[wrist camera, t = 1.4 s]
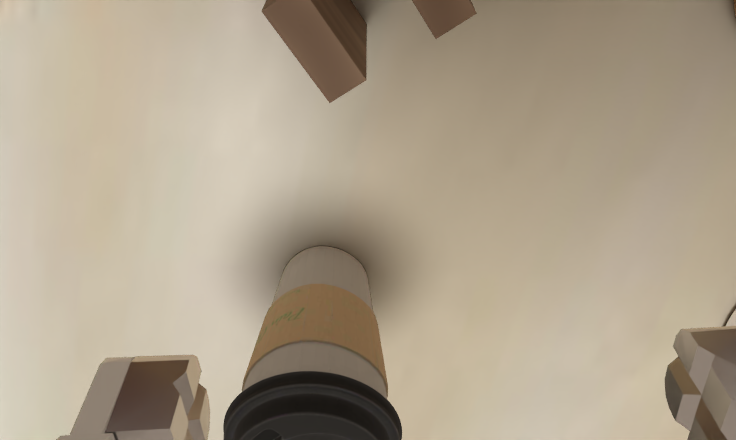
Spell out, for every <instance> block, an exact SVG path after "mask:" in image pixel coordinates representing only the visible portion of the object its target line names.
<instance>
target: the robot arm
mask: <svg viewBox="0 0 736 440" xmlns="http://www.w3.org/2000/svg"><path fill="white" fill-rule="evenodd" d="M673 347H674V349H675V351H676V352H677V354H678V357H677V358H676V359H675V360H674V361H673V362H671V363H670V364H669V365H668V367H667V372H666V376H665V391H666V398H667V402H668V405H669V408H670V410H671V412H672V415H673V417H674V419H675V421H677V422H678V423H679V424H681V425H682V426H684V427H685V428H687V429H688V430H689V431H690V433H689V436H688V440H736V309H735V311H734V312H733V314H732V315H731V317H730V319H729V320H728V322H727V324H726V326H724V327H708V328H691V329H681V330H680V331H679V333H678V334H677V335H676V338H675V342H674V345H673ZM200 375H201V368H200V364H199V361H198V358H197V356H194V355H169V356H136V357H119V358H106V359H105V360H104V361H103V362H102V363H101V364H100V365H99V368H98V370H97V372H96V375H95V377H94V379H93V382H92V384H91V386H90V389H89V391H88V393H87V396H86V398H85V400H84V403H83V405H82V407H81V410H80V412H79V414H78V417H77V419H76V421H75V424H74V426H73V428H72V431H71V433H70V435H65V436H60V437H59V438H57V439H56V440H207V439H208V434H209V425H210V407H209V399H208V394H207V390H206V389H205V388H204V387H203V386H201V385H200V384H199V379H200Z"/></svg>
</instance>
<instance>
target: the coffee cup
mask: <svg viewBox="0 0 736 440" xmlns="http://www.w3.org/2000/svg"><path fill="white" fill-rule="evenodd" d="M387 397H388V384H387V378H386V372H385V366H384V360H383V354H382V348H381V342H380V336H379V330H378V324H377V320H376V317H375V315H374V313H373V308H372V302H371V296H370V290H369V284H368V278H367V275H366V271H365V270H364V268H363V266H362V265H361V264H360V263H359V262H358V260H357V259H355V258H354V257H353V256H351V255H350V254H348V253H346V252H344V251H342V250H340V249H337V248H333V247H328V246H317V247H312V248H308V249H306V250H303V251H302V252H300V253H298V254H297V255H296V256H294V257H293V258H292V259H291V260H290V261H289V263H288V264H287V265H286V267H285V269H284V272H283V274H282V277H281V279H280V282H279V285H278V288H277V291H276V294H275V297H274V300H273V303H272V306H271V307H270V308H269V310H268V312H267V314H266V316H265V319H264V322H263V325H262V328H261V330H260V333H259V336H258V339H257V342H256V345H255V348H254V351H253V354H252V357H251V360H250V363H249V365H248V368H247V371H246V374H245V377H244V381H243V387H242V393H240V394H239V395H238V396H237V397H236V398H235V400H234V401H233V402H232V403H231V405H230V407H229V408H228V410H227V413H226V415H225V419H224V440H401V439H402V427H401V422H400V419H399V417H398V414H397V412H396V411H395V409H394V407H393V406H392V405H391V404H390V402H389V401H388V400H387Z"/></svg>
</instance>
